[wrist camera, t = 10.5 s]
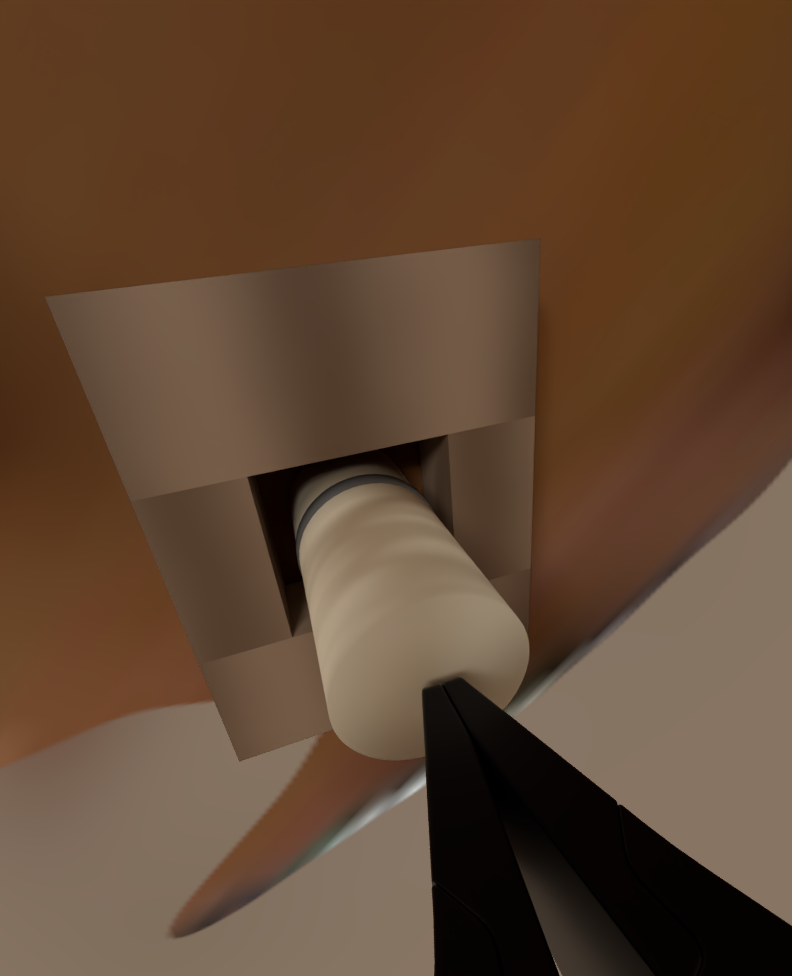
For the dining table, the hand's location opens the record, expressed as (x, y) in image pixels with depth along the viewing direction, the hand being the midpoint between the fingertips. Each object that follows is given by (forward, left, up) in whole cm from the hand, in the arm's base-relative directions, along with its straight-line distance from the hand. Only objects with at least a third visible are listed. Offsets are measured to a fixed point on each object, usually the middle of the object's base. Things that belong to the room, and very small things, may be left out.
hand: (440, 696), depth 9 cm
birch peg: (0, 0, -9) cm, 9 cm away
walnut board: (0, 0, -9) cm, 9 cm away
